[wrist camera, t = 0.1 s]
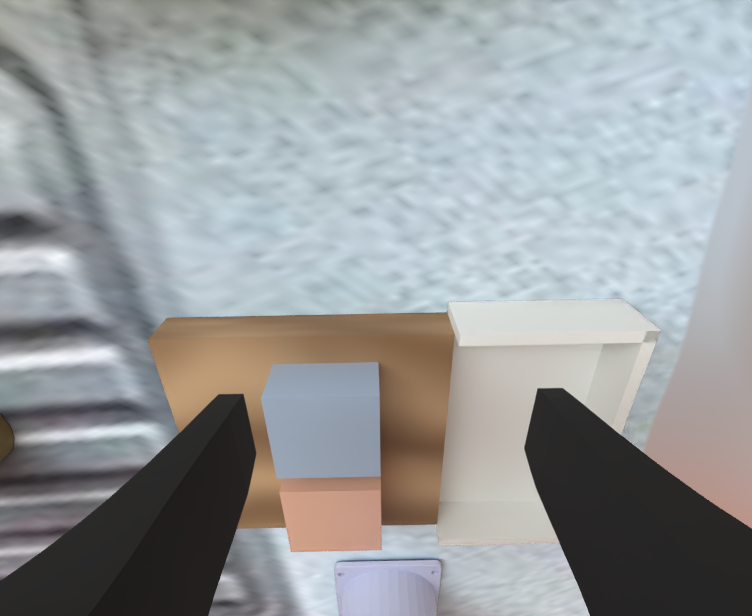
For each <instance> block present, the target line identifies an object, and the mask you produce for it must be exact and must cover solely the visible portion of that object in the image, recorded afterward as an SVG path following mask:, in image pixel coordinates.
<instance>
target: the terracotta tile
mask: <svg viewBox="0 0 752 616" xmlns="http://www.w3.org/2000/svg"><path fill="white" fill-rule="evenodd" d="M279 493H280V498H281V503H282V508H283V513H284V518H285V523H286V529H287V534H288V539H289V544H290V549H291V552H314V551H360V550H382V538H381V478H380V477H333V478H285V479H282V483H281V487H280V492H279Z"/></svg>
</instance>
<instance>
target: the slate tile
mask: <svg viewBox="0 0 752 616" xmlns="http://www.w3.org/2000/svg"><path fill="white" fill-rule="evenodd" d="M261 402H262V407H263V412H264V417H265V422H266V427H267V432H268V437H269V442H270V447H271V452H272V458H273V463H274V468H275V473H276V478H277V479H285V478H333V477H380V476H381V467H380V396H379V363H378V362H366V363H316V364H273V366H272V368H271V371H270V374H269V377H268V380H267V383H266V385H265V388H264V391H263V394H262V397H261Z"/></svg>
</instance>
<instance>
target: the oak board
mask: <svg viewBox="0 0 752 616" xmlns="http://www.w3.org/2000/svg"><path fill="white" fill-rule="evenodd" d="M454 336H455V333H454V331H453V328H452V325H451V322H450V319H449V316H448V313H401V314H350V315H298V316H246V317H195V318H167V319H166V320H165V321H164V322H163V323H162V324H161V325H160V326H159V328H158V329H157V330H156V331H155V332H154V333H153V334H152V335H151V337H150V338H149V339H148V343H149V346H150V349H151V352H152V355H153V358H154V361H155V364H156V366H157V369H158V372H159V375H160V378H161V381H162V384H163V387H164V390H165V393H166V396H167V399H168V402H169V405H170V407H171V410H172V413H173V416H174V419H175V422H176V425H177V428H178V431H179V433H180V432H181V431H182V430H183V429H184V428H185V427H186V426H187V425H188V424H189V423H190V422H191V421H192V420H193V419H194V418H195V417H196V416H197V415H198V414H199V413H200V412H201V411H202V410H203V409H204V408H205V407H206V406H207V405H208V404H209V403H210V402H211V401H212V400H213V399H214V398H215V397H216V396H217V395H218V394H244V398H245V403H246V407H247V412H248V416H249V421H250V426H251V430H252V435H253V439H254V444H255V448H256V458H255V463H254V468H253V474H252V478H251V483H250V487H249V492H248V496H247V499H246V502H245V505H244V508H243V511H242V514H241V517H240V520H239V523H238V526H237V529H240V528H286V523H285V518H284V513H283V508H282V503H281V498H280V493H279V492H280V487H281V483H282V479H277V478H276V473H275V468H274V463H273V458H272V452H271V447H270V442H269V437H268V432H267V427H266V422H265V417H264V412H263V407H262V402H261V397H262V394H263V391H264V388H265V385H266V383H267V380H268V377H269V374H270V371H271V368H272V366H273V364H316V363H366V362H378V363H379V396H380V467H381V476H380V478H381V525H426V524H437V519H438V509H439V498H440V487H441V476H442V466H443V455H444V444H445V433H446V422H447V412H448V401H449V390H450V379H451V369H452V358H453V347H454Z"/></svg>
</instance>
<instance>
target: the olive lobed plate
mask: <svg viewBox="0 0 752 616" xmlns="http://www.w3.org/2000/svg"><path fill="white" fill-rule="evenodd" d="M13 445H14V436H13V433H12V430H11V428H10V426H9V424H8V423H7V422H6V421H5V420H4V418H3V417H2V416H1V415H0V461H1V460H2V459H4V458H5V457H6V456H7V455H8V454H9V453H10V451H11V450H12V449H13Z"/></svg>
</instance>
